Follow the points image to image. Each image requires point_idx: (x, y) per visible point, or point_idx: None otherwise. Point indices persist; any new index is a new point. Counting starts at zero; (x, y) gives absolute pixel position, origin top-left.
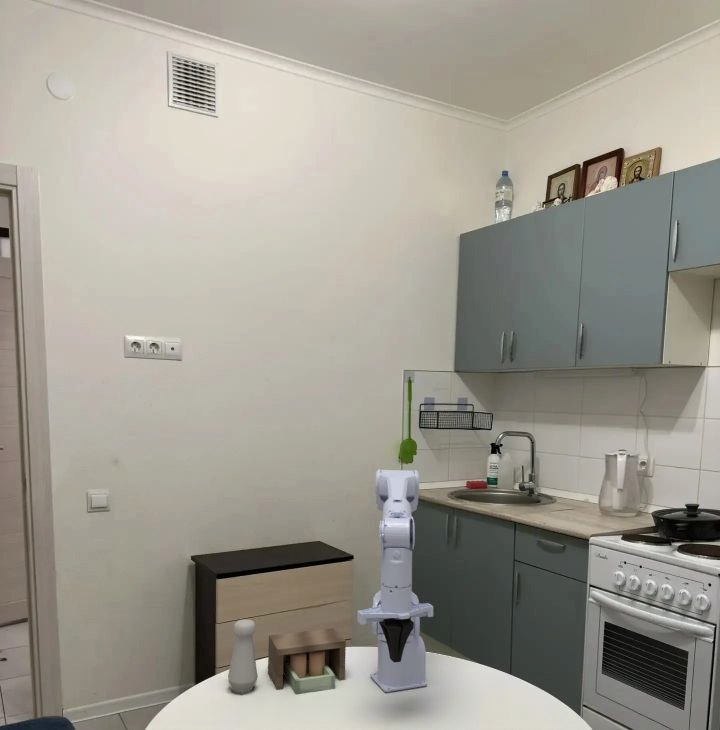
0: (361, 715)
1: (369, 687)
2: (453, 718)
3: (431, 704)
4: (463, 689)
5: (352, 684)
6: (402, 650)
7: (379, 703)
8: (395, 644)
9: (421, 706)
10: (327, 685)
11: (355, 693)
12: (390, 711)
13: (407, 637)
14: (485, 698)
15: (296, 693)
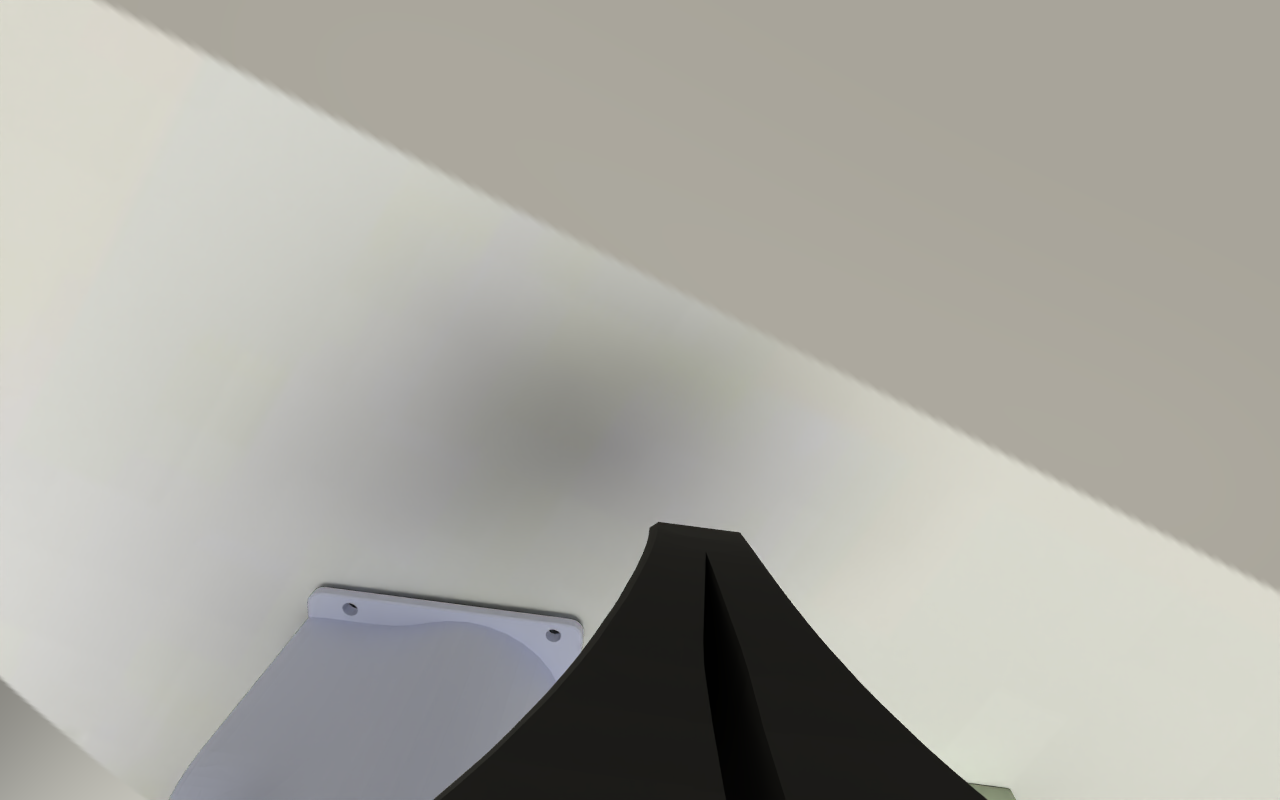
0: (842, 476)
1: None
2: (346, 197)
3: (394, 406)
4: (122, 470)
5: None
6: (646, 587)
7: None
8: (810, 681)
9: (463, 412)
10: None
11: None
12: (666, 443)
13: (541, 721)
14: (30, 320)
15: (1009, 792)
